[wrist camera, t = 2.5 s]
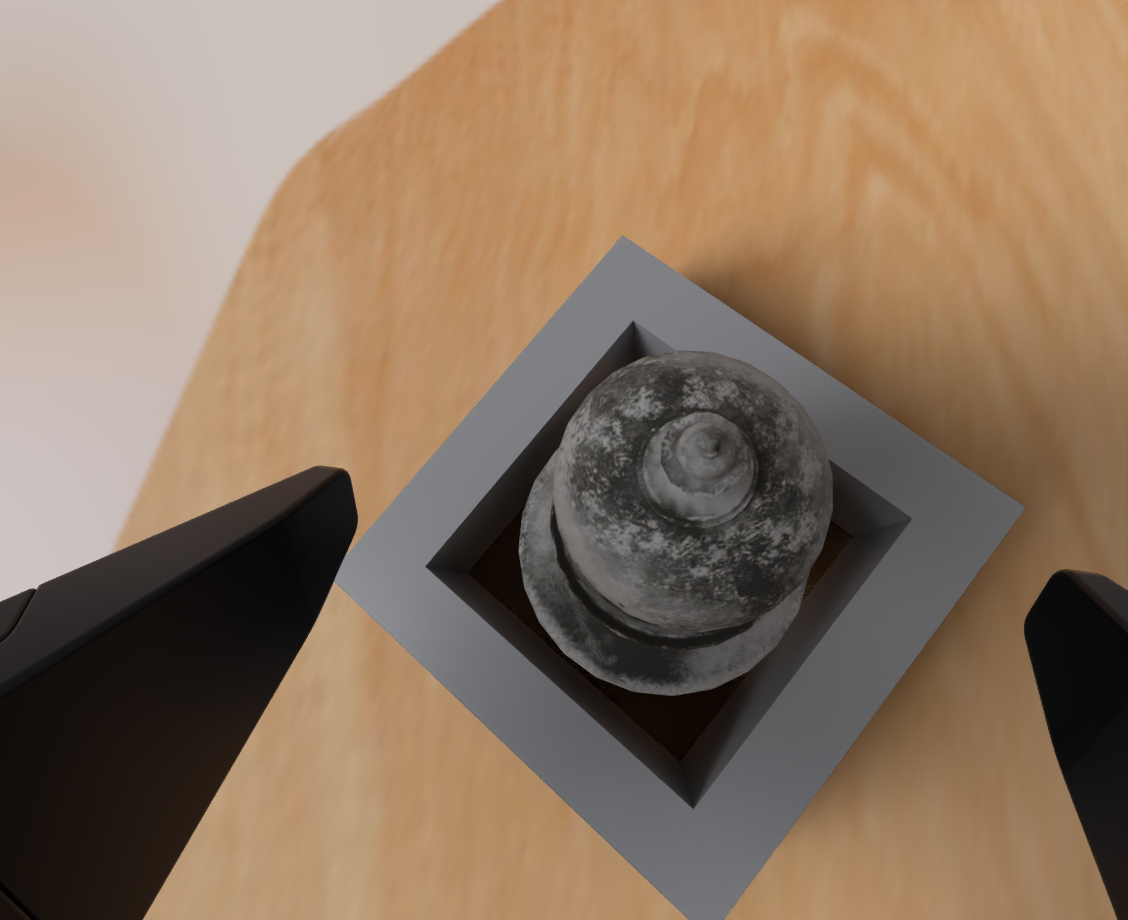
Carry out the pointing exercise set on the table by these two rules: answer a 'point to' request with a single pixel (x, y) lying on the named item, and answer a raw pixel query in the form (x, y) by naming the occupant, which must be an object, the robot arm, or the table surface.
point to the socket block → (773, 686)
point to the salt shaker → (677, 523)
